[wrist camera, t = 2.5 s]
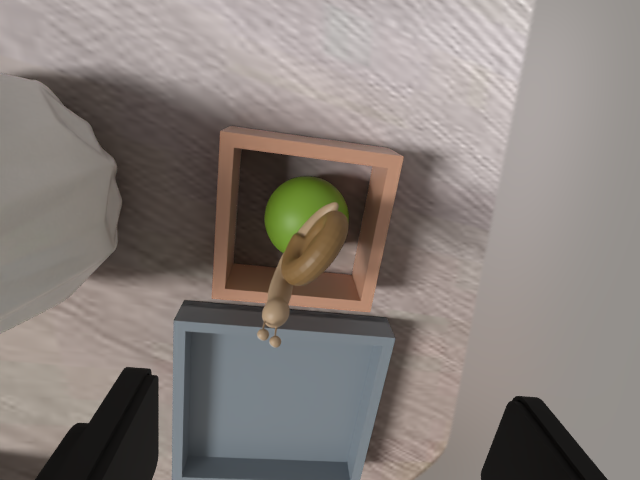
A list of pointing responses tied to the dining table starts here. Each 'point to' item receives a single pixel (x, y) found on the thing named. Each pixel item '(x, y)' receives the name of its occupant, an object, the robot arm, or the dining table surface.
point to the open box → (256, 280)
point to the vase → (49, 201)
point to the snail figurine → (301, 241)
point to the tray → (274, 393)
